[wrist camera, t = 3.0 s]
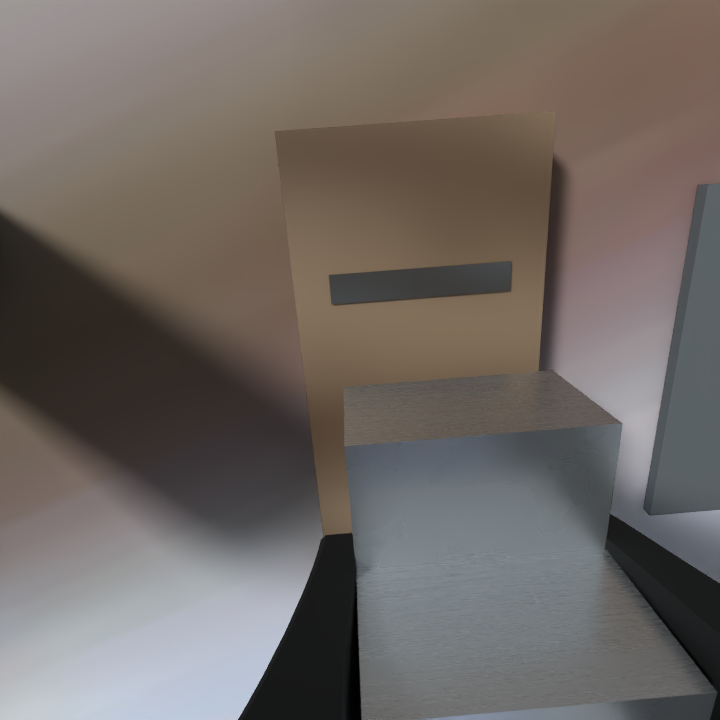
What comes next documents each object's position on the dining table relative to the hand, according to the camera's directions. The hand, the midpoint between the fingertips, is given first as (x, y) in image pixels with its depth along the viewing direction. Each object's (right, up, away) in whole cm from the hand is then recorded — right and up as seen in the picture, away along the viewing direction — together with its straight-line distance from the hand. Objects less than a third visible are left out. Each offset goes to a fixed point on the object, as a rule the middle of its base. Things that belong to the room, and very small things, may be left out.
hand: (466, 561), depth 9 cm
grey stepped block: (0, 0, +1) cm, 2 cm away
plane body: (0, +2, +7) cm, 7 cm away
